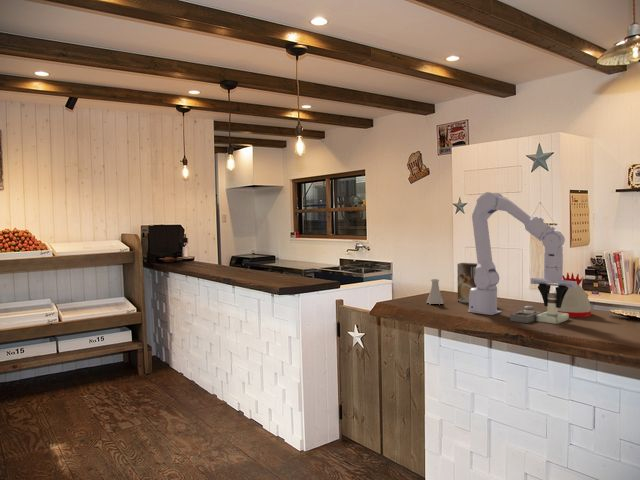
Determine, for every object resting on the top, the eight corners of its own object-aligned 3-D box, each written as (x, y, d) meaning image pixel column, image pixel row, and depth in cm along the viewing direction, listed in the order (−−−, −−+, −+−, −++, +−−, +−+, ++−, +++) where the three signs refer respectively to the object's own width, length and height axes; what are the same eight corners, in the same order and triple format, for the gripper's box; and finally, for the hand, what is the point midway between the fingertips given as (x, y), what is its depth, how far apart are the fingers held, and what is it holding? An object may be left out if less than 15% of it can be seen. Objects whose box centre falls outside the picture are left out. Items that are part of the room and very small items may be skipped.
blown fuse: (545, 317, 169) (545, 293, 169) (549, 315, 172) (550, 292, 171) (555, 318, 167) (555, 294, 167) (559, 317, 169) (559, 293, 169)
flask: (424, 302, 207) (424, 278, 206) (442, 302, 206) (442, 278, 206) (427, 305, 199) (427, 280, 199) (445, 305, 199) (446, 280, 199)
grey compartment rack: (510, 320, 169) (510, 308, 169) (524, 315, 177) (524, 304, 177) (527, 323, 165) (527, 310, 165) (541, 318, 173) (541, 306, 172)
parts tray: (536, 320, 168) (536, 315, 168) (547, 316, 175) (547, 311, 175) (557, 324, 163) (557, 318, 163) (568, 319, 170) (568, 313, 170)
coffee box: (484, 302, 206) (484, 263, 206) (478, 304, 201) (478, 264, 201) (463, 299, 212) (463, 262, 211) (456, 301, 207) (456, 263, 207)
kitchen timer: (589, 318, 172) (590, 275, 171) (546, 314, 179) (547, 273, 179) (591, 312, 184) (592, 271, 183) (551, 308, 191) (551, 269, 190)
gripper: (527, 266, 171) (526, 305, 172) (571, 269, 161) (570, 311, 161) (535, 265, 176) (535, 303, 177) (579, 267, 166) (578, 308, 166)
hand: (552, 306), depth 169 cm, fingers open, 3 cm apart
